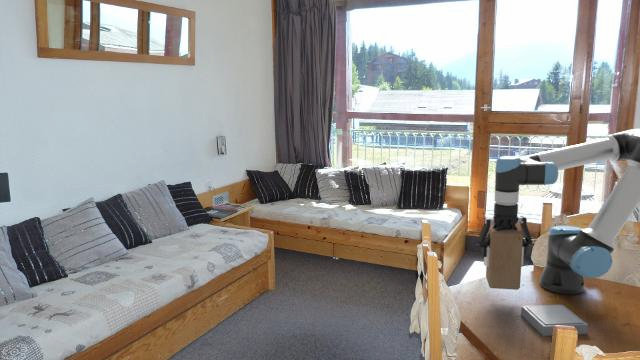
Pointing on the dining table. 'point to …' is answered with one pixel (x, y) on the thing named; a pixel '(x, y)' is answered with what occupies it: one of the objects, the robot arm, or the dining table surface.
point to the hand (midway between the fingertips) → (503, 264)
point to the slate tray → (552, 318)
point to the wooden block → (504, 259)
